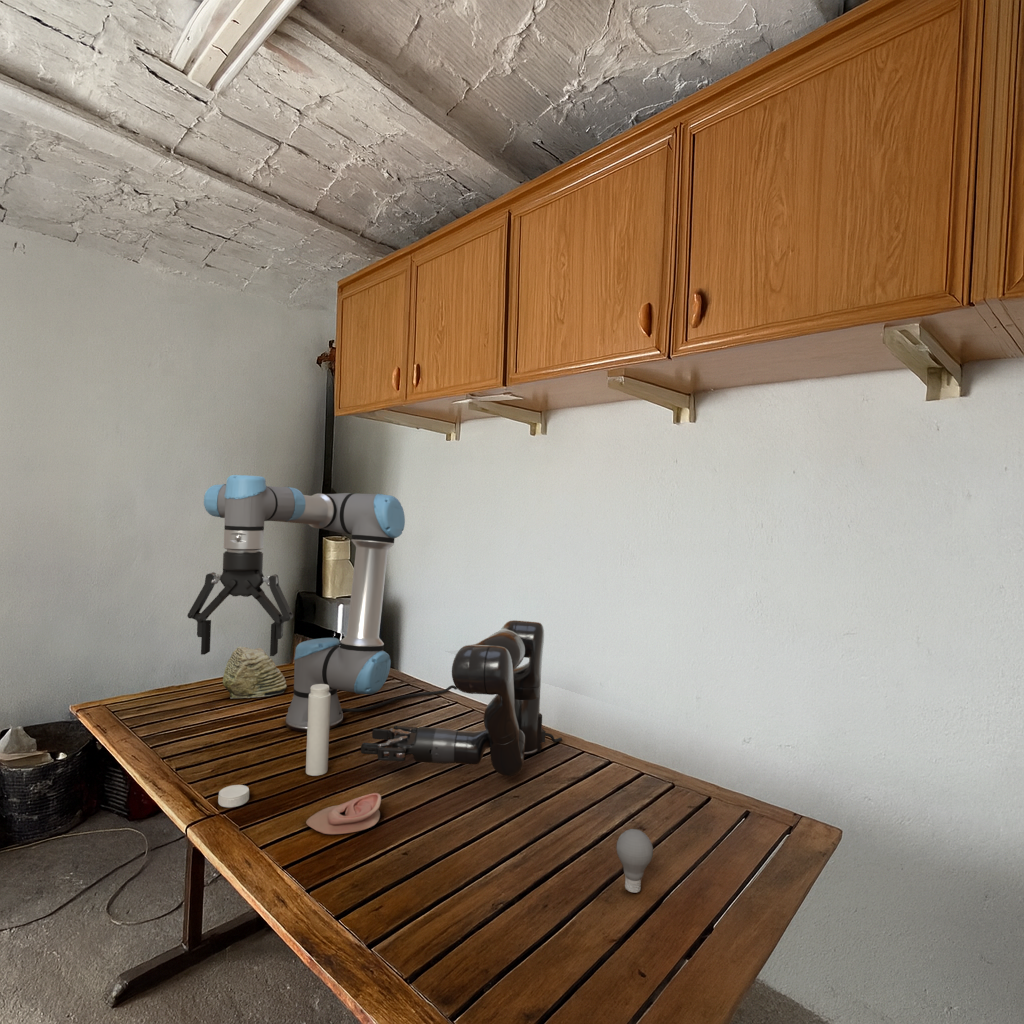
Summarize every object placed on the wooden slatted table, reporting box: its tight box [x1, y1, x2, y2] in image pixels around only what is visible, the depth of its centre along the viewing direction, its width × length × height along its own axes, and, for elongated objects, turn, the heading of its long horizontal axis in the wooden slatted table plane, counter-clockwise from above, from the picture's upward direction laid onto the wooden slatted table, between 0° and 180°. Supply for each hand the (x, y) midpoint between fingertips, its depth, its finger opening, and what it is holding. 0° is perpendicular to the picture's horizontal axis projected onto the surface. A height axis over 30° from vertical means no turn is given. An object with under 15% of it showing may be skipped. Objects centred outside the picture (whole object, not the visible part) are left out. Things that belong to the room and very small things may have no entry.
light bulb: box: [615, 828, 654, 894], centre depth 106 cm, size 6×6×10 cm
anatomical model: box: [305, 792, 382, 835], centre depth 124 cm, size 13×4×12 cm
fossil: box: [222, 646, 288, 699], centre depth 198 cm, size 9×18×15 cm, turn 132°
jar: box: [305, 684, 331, 777], centre depth 146 cm, size 5×5×20 cm
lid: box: [217, 784, 250, 808], centre depth 130 cm, size 6×6×2 cm
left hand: (239, 653), depth 130 cm, fingers open, 13 cm apart
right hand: (367, 740), depth 145 cm, fingers open, 8 cm apart
